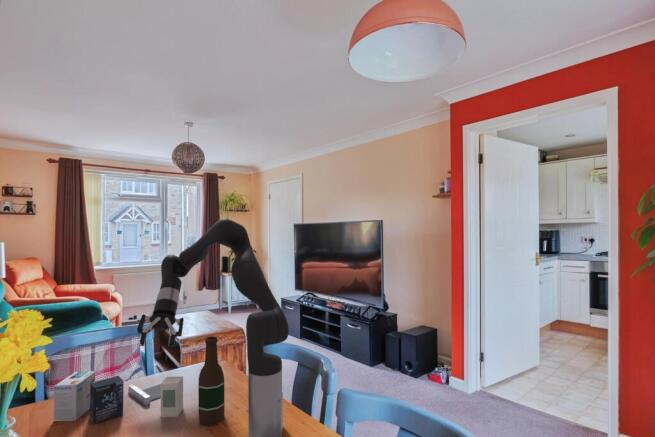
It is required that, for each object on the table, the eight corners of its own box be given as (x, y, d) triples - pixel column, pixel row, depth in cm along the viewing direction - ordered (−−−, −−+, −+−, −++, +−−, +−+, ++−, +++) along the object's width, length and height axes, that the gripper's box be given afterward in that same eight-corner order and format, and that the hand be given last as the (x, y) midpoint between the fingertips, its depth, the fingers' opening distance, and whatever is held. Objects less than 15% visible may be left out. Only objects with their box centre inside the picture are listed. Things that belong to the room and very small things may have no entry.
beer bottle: (203, 412, 114) (203, 333, 114) (228, 412, 113) (228, 333, 114) (193, 426, 106) (193, 341, 106) (220, 426, 106) (220, 341, 106)
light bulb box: (74, 405, 119) (74, 371, 119) (95, 404, 120) (96, 370, 120) (52, 422, 109) (52, 385, 109) (76, 421, 109) (76, 384, 109)
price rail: (134, 391, 129) (134, 383, 129) (151, 403, 120) (151, 396, 120) (128, 393, 127) (128, 385, 128) (145, 405, 118) (145, 398, 118)
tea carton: (183, 408, 116) (183, 376, 117) (177, 417, 111) (177, 383, 111) (166, 409, 116) (166, 376, 116) (160, 417, 111) (160, 383, 111)
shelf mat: (169, 382, 136) (169, 381, 136) (182, 390, 129) (182, 389, 129) (134, 393, 127) (134, 392, 127) (146, 402, 120) (146, 401, 120)
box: (93, 424, 107) (94, 387, 107) (89, 417, 111) (89, 382, 111) (123, 415, 112) (124, 380, 113) (118, 408, 117) (118, 374, 117)
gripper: (145, 295, 130) (132, 339, 119) (188, 299, 134) (179, 342, 123) (145, 306, 135) (133, 349, 124) (186, 310, 139) (178, 352, 128)
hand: (156, 346), depth 124 cm, fingers open, 8 cm apart
